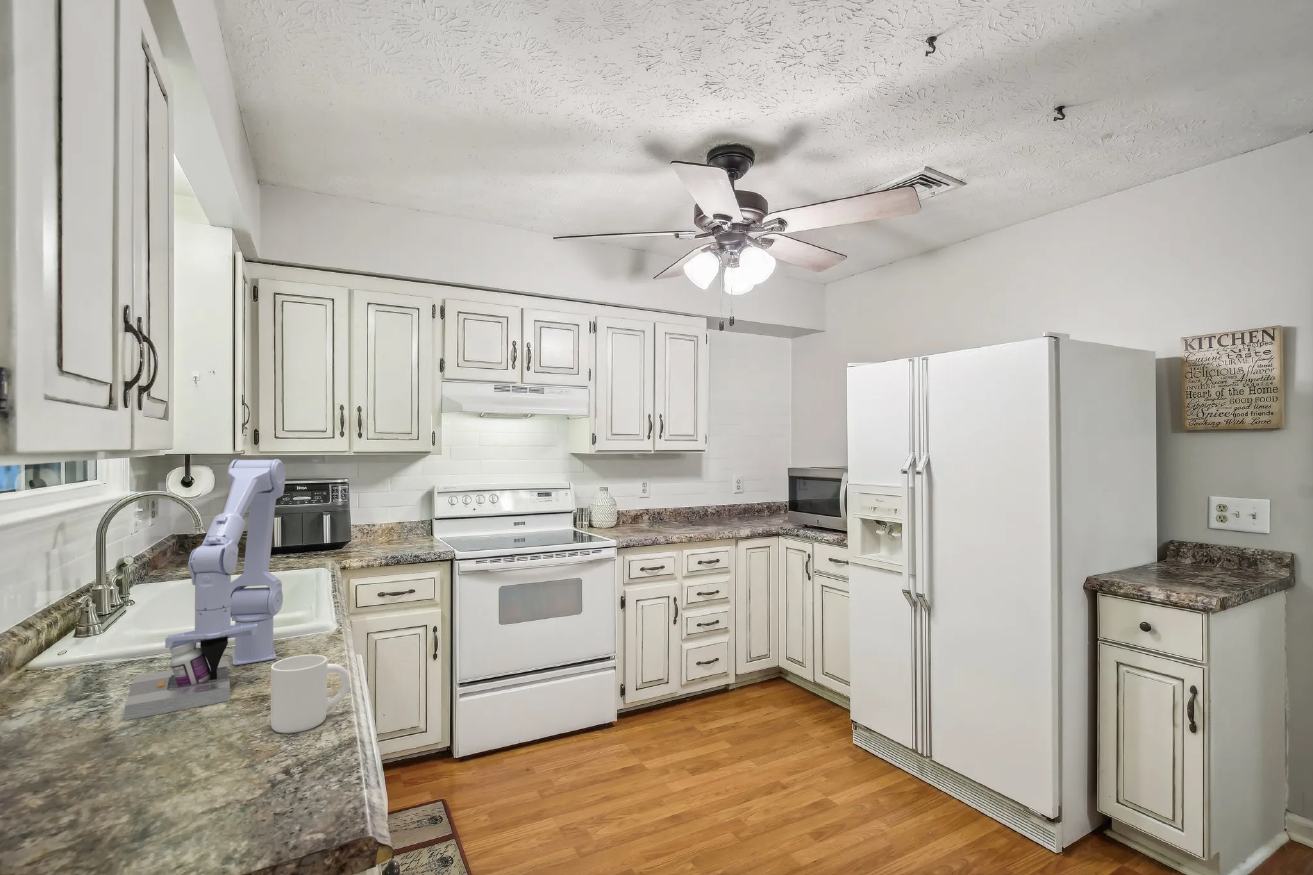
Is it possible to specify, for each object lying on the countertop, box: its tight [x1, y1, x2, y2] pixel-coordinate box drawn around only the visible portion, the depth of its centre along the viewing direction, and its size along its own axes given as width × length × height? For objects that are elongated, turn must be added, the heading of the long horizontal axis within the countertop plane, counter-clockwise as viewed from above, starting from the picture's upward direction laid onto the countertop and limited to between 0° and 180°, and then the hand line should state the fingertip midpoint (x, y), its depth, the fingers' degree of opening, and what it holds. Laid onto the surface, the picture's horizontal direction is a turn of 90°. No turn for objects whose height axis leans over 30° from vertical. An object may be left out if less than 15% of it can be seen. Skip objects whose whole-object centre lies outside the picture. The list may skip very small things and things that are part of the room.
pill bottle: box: [169, 640, 214, 687], centre depth 122 cm, size 5×5×10 cm
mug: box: [270, 654, 351, 734], centre depth 110 cm, size 12×8×10 cm
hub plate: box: [124, 660, 231, 721], centre depth 121 cm, size 18×15×3 cm
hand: (212, 678), depth 124 cm, fingers closed, pressing on pill bottle
